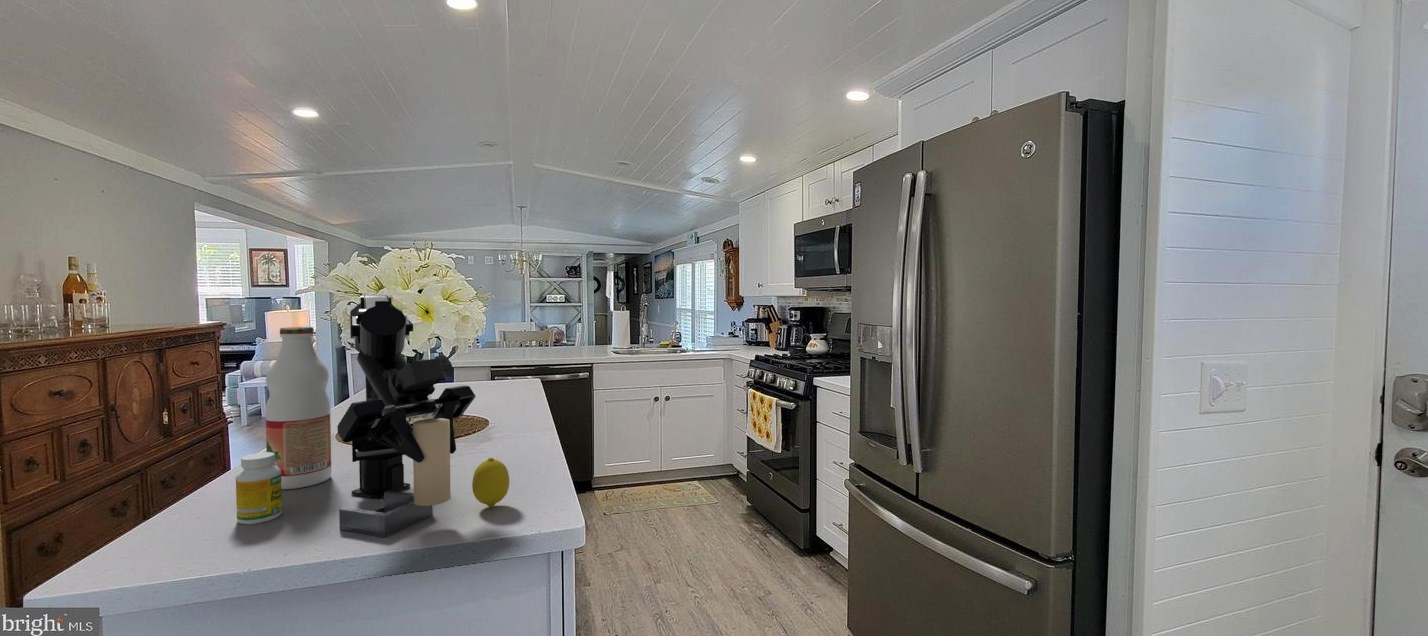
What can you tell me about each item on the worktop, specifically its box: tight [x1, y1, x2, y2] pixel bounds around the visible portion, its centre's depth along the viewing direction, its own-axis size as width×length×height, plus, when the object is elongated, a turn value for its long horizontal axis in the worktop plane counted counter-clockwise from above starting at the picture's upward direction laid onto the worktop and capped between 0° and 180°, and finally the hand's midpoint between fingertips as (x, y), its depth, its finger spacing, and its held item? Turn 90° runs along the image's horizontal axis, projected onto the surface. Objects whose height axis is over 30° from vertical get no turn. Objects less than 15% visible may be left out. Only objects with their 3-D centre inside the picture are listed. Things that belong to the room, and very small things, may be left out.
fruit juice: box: [264, 326, 332, 490], centre depth 102 cm, size 9×9×28 cm
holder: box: [338, 490, 434, 539], centre depth 84 cm, size 8×8×3 cm
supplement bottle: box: [235, 451, 283, 525], centre depth 85 cm, size 5×5×10 cm
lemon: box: [471, 457, 510, 508], centre depth 90 cm, size 6×6×8 cm
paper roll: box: [412, 418, 452, 506], centre depth 82 cm, size 5×5×12 cm
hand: (438, 456), depth 82 cm, fingers closed on paper roll, 5 cm apart
